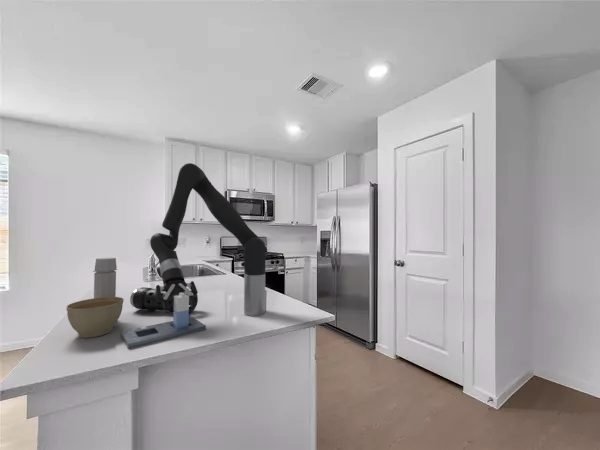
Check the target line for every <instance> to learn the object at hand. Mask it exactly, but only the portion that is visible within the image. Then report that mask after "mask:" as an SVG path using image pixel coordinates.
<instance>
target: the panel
mask: <svg viewBox="0 0 600 450" xmlns="http://www.w3.org/2000/svg"><path fill="white" fill-rule="evenodd" d="M206 329H207V328H206V324H204V323H202V322H201V321H199V320H198V319H196V318H195V317H193V316H190V317H189V324H188V326H187V327H182V328H178V329H174V328H173V320H170V321H166V322H161V323H156V324H151V325H145V326H141V327H137V328H131V329H128V330H122V331H120V337H121V339H122V341H123V342H124V345H125V346H126V348H127V349H128V350H130V349H133V348H138V347H142V346H145V345H150V344H154V343H158V342H161V341H167V340H170V339H174V338H178V337H182V336H187V335H191V334H194V333H200V332H203V331H206Z"/></svg>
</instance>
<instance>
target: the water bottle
mask: <svg viewBox="0 0 600 450" xmlns="http://www.w3.org/2000/svg"><path fill="white" fill-rule="evenodd" d="M94 264H95V265H94V269H93V271H92V272H93V273H94V275H93V277H94V278H93V280H94V281H93V298H100V297H117V295H116V291H117V289H116V288H117V284H116V283H117V270H118V269H117V267H118V266H117V259H116V257H99V258H96V259H95V263H94Z"/></svg>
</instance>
